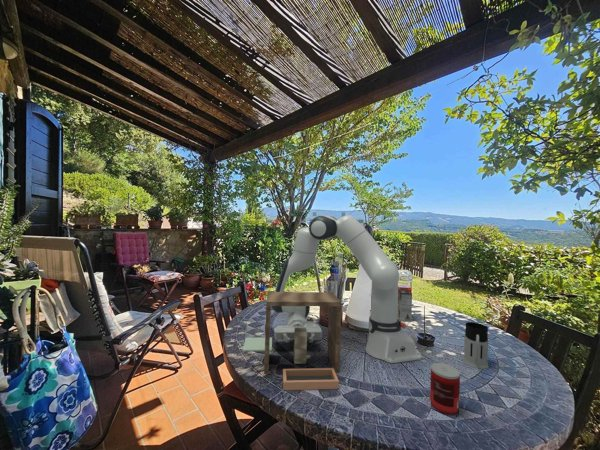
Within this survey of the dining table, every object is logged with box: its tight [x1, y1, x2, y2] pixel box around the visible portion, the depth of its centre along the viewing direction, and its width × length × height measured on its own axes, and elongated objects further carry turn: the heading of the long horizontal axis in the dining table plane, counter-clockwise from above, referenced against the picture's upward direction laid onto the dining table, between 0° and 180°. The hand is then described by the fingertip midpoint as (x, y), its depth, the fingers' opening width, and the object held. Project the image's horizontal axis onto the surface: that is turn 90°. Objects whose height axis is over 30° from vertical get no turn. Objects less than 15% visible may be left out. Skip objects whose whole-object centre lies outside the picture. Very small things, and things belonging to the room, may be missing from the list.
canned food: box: [429, 362, 461, 415], centre depth 80 cm, size 8×8×11 cm
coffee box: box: [397, 289, 413, 323], centre depth 156 cm, size 9×6×16 cm
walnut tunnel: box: [263, 291, 342, 375], centre depth 102 cm, size 27×14×26 cm, turn 95°
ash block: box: [293, 328, 308, 365], centre depth 104 cm, size 4×4×12 cm
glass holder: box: [462, 321, 490, 370], centre depth 105 cm, size 9×14×15 cm, turn 149°
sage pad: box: [242, 337, 273, 352], centre depth 116 cm, size 12×12×1 cm
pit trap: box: [282, 367, 340, 391], centre depth 90 cm, size 18×8×2 cm, turn 95°
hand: (299, 340), depth 107 cm, fingers open, 8 cm apart
